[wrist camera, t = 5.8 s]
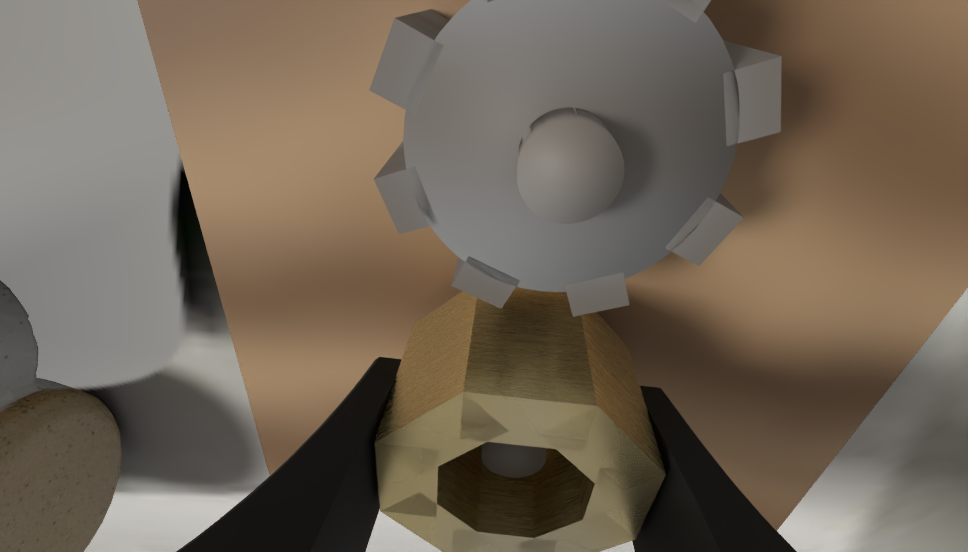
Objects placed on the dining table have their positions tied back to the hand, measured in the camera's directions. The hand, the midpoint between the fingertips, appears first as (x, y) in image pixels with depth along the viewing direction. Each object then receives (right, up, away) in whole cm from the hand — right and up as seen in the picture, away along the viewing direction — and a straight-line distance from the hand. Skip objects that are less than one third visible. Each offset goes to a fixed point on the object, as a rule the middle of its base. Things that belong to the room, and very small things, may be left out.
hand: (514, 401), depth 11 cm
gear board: (+1, +2, +2) cm, 3 cm away
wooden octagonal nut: (0, +1, +1) cm, 1 cm away
